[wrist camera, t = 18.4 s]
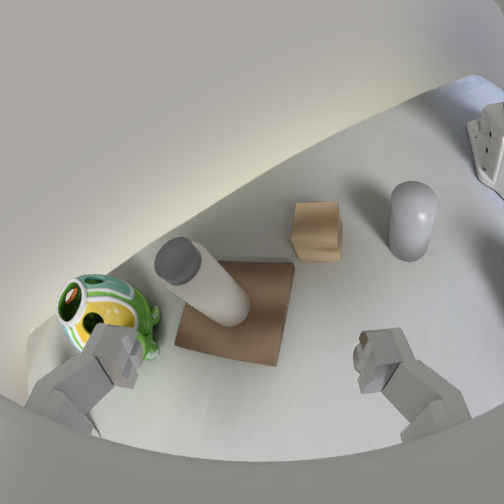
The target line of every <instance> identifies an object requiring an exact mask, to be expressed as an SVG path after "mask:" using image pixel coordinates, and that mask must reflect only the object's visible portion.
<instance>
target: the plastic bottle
mask: <svg viewBox="0 0 504 504" xmlns="http://www.w3.org/2000/svg"><path fill="white" fill-rule="evenodd" d="M155 271H156V273H157V274H158V275H159V276H160V279H161V282H162V284H163V285H164V287H165V288H167V289H168V290H169V291H171V292H172V293H174V294H175V295H177V296H178V297H179V298H181V299H182V300H184V301H185V302H187V303H188V304H190V305H191V306H193V307H194V308H195V309H197V310H198V311H200V312H201V313H203V314H204V315H206V316H207V317H209V318H211V319H212V320H214V321H215V322H217V323H218V324H220V325H222V326H225V327H232V326H236V325H238V324H240V323H241V322H242V321H244V320H245V318H246V317H247V316H248V314H249V311H250V307H251V301H250V297H249V295H248V294H247V293H246V291H245V290H244V289H243V288H242V287H241V286H240V285H239V284H238V283H237V282H236V281H235V280H234V279H233V278H232V277H231V276H230V275H229V274H228V273H227V272H226V271H225V269H224V268H223V267H222V266H221V265H220V264H219V263H218V262H217V261H216V260H215V259H214V258H213V257H212V256H211V255H210V253H209V252H208V251H207V250H206V249H205V248H204V247H203V246H202V245H201V244H199V243H197V242H193V241H189V240H188V239H187V238H184V237H178V238H174V239H172V240H170V241H168V242H167V243H166V244H165V245H164V246H163V247H162V248H161V249H160V251H159V252H158V254H157V256H156V259H155Z"/></svg>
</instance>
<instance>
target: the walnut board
mask: <svg viewBox="0 0 504 504" xmlns="http://www.w3.org/2000/svg"><path fill="white" fill-rule="evenodd" d="M217 262H218V263H219V264H220V265H221V266H222V267H223V268H224V269H225V271H226V272H227V273H228V274H229V275H230V276H231V277H232V278H233V279H234V280H235V281H236V282H237V283H238V284H239V285H240V286H241V287H242V288H243V289H244V290H245V291H246V293H247V294H248V295H249V297H250V301H251V307H250V311H249V314H248V316H247V317H246V318H245V320H244V321H242V322H241V323H240V324H238V325H236V326H232V327H225V326H222V325H220V324H218V323H217V322H215V321H214V320H212V319H211V318H209V317H207V316H206V315H204V314H203V313H201V312H200V311H198V310H197V309H195V308H194V307H193V306H191V305H190V304H188V303H186V306H185V310H184V313H183V316H182V320H181V323H180V326H179V330H178V333H177V337H176V340H175V344H174V345H176V346H178V347H181V348H185V349H189V350H193V351H198V352H202V353H206V354H211V355H215V356H220V357H225V358H230V359H235V360H240V361H246V362H251V363H257V364H263V365H269V366H275V367H276V365H277V360H278V355H279V350H280V345H281V340H282V335H283V330H284V325H285V319H286V314H287V309H288V303H289V298H290V292H291V286H292V281H293V275H294V269H295V267H294V265H293V263H266V262H229V261H217Z"/></svg>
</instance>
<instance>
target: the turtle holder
mask: <svg viewBox="0 0 504 504" xmlns="http://www.w3.org/2000/svg"><path fill="white" fill-rule="evenodd" d="M71 289H74V290H73V293H72V295H71V296H70V298H69V299H68V300H67V301H66V302H65V299H66V295H67V293H68V292H69V291H70V290H71ZM56 314H57V317H58V319H59V321H60V322H61V325H62V327H63V329H64V331H65V333H66V335H67V337H68V339H69V340H70V342H71V343H72V344H73V345H74V346H75V347H76V348H77V349H78V350H79V351H80V352H82V350H83V348H84V346H85V345H86V343H87V341H88V339H89V337H90V335H91V333H92V331H93V330H94V328H95V326H96V325H97V324H98V323H105V324H112V325H118V326H125V327H132V328H135V330H136V332H137V334H138V335H137V337H136V339H137V340H139V341H140V342H141V344H142V346H143V360H153V359H155V358H156V357H158V355H159V352H160V349H159V346H158V345H157V344H156V343H155V342H154V341H153V326H155V325H156V324H158V322H159V321H160V317H161V313H160V309H159V308H158V306H154V307H152V309H151V310H150V306H149V304H148V301H147V300H146V298H145V297H144V295H143V294H142V293H141V292H140V291H139V290H137V289H136V288H134V287H132V286H131V285H130V284H129V283H127V282H126V281H124V280H122V279H118V278H114V277H111V276H106V275H99V274H97V275H96V274H93V275H81V276H79V277H77V278H72V279H70V280H69V281H68V282H67V283H66V284H65V286H64V287H63V289H62V290H61V292H60V294H59V297H58V299H57V303H56Z"/></svg>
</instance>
